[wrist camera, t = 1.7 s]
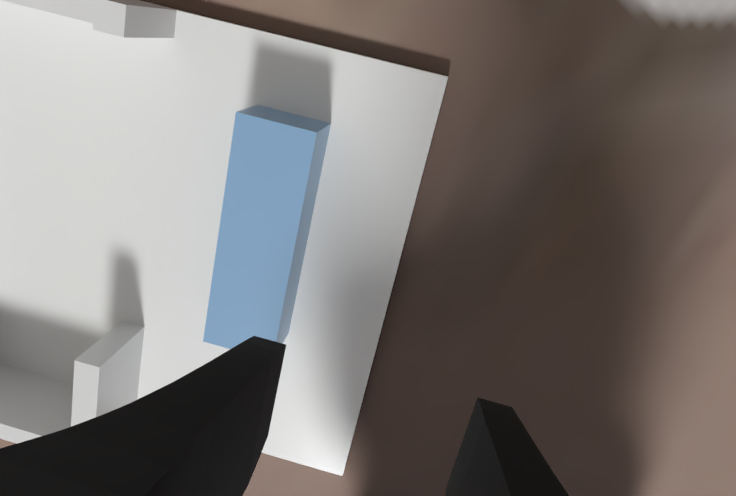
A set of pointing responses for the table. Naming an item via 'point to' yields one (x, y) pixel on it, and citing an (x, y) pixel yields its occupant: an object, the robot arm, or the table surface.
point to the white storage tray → (186, 210)
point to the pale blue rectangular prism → (264, 224)
